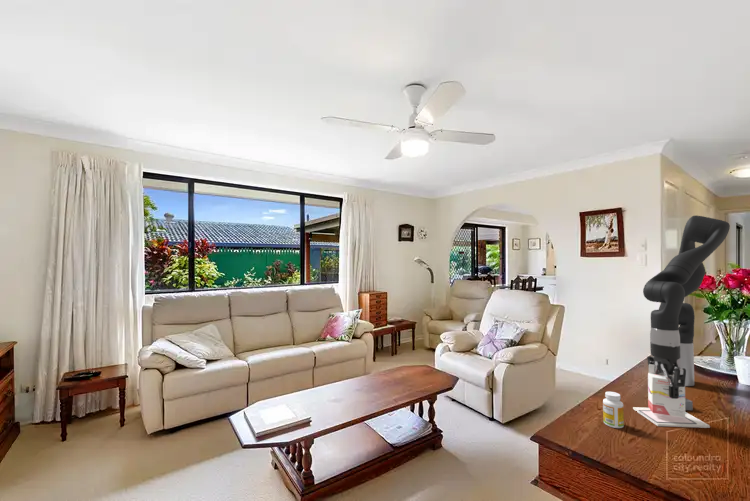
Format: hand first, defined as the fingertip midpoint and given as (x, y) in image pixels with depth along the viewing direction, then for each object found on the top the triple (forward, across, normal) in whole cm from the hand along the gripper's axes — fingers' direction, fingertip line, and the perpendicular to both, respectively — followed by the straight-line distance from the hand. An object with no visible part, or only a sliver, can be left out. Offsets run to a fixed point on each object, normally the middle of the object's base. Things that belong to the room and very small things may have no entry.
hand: (666, 393), depth 113 cm
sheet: (+8, -1, +1) cm, 8 cm away
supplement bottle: (+8, +5, -19) cm, 22 cm away
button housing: (+8, -11, +10) cm, 17 cm away
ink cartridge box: (+6, 0, 0) cm, 6 cm away
